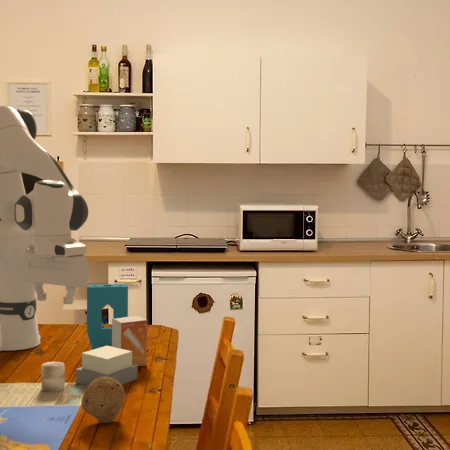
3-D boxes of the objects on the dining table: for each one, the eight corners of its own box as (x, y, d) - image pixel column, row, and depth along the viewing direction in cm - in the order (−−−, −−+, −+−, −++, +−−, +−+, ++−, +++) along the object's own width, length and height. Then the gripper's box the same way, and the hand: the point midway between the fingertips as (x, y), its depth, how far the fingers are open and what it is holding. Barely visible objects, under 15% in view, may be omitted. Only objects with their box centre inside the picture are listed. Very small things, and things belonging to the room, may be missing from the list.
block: (86, 354, 188) (86, 287, 186) (87, 349, 193) (87, 284, 191) (127, 352, 190) (128, 286, 189) (127, 348, 195) (127, 283, 193)
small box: (120, 369, 174) (120, 322, 173) (111, 363, 179) (111, 318, 178) (147, 365, 178) (147, 319, 177) (137, 359, 183) (137, 315, 182)
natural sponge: (77, 430, 132) (77, 383, 131) (86, 414, 141) (86, 370, 140) (121, 431, 132) (121, 384, 131) (127, 415, 141) (127, 370, 140)
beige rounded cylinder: (36, 389, 156) (36, 365, 156) (53, 383, 161) (53, 360, 161) (53, 393, 154) (52, 369, 153) (69, 387, 158) (69, 363, 158)
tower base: (76, 384, 162) (76, 368, 162) (105, 373, 172) (105, 358, 171) (109, 392, 157) (109, 376, 156) (137, 380, 166) (137, 365, 166)
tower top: (81, 368, 163) (81, 352, 162) (106, 360, 170) (107, 345, 170) (107, 374, 158) (107, 359, 157) (132, 366, 165) (132, 351, 165)
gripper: (14, 245, 159) (16, 300, 160) (72, 249, 148) (74, 308, 149) (34, 243, 164) (36, 296, 165) (92, 247, 153) (93, 303, 154)
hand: (54, 302), depth 157 cm, fingers open, 8 cm apart
